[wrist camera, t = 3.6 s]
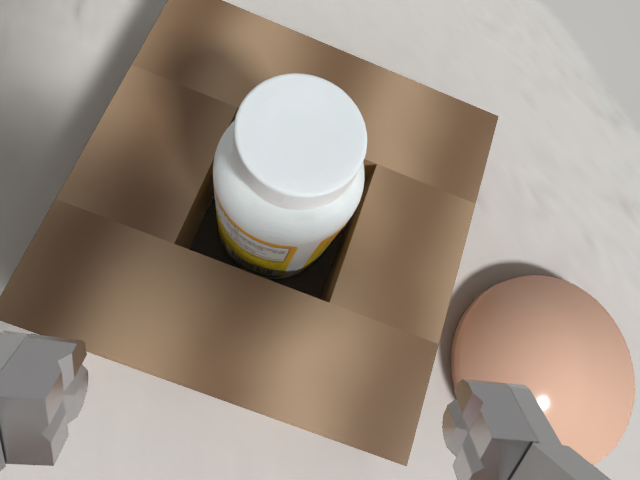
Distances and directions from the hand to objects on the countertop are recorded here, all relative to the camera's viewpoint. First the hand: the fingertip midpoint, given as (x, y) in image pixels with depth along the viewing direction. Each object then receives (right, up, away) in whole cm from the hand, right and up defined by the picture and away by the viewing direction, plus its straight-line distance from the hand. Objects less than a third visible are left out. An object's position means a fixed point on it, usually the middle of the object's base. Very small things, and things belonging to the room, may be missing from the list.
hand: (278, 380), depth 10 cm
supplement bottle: (-1, +4, +13) cm, 13 cm away
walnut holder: (-1, +4, +13) cm, 13 cm away
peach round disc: (+12, -3, +13) cm, 18 cm away
